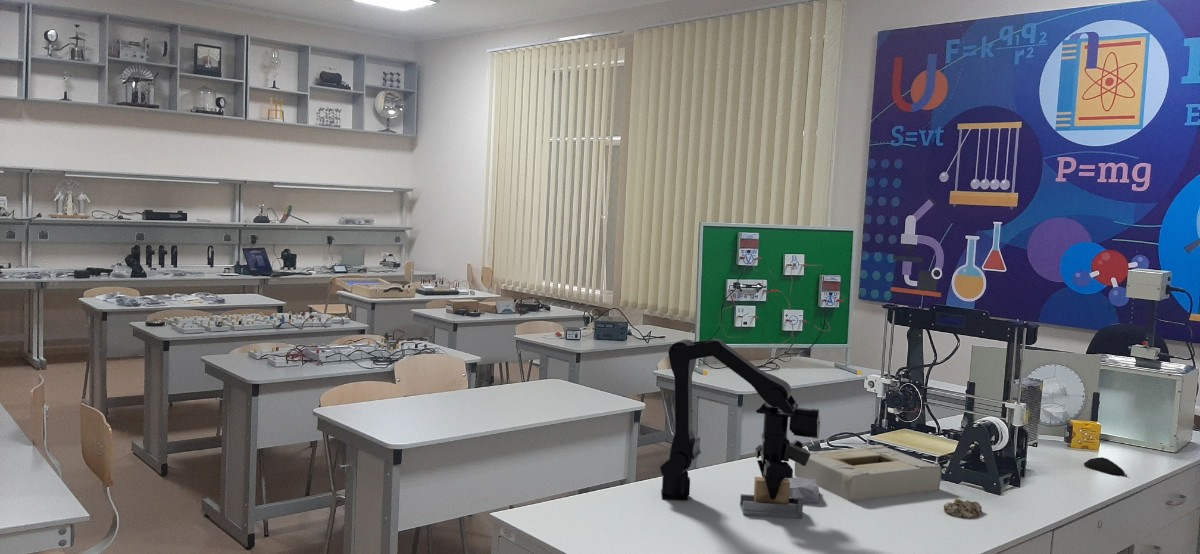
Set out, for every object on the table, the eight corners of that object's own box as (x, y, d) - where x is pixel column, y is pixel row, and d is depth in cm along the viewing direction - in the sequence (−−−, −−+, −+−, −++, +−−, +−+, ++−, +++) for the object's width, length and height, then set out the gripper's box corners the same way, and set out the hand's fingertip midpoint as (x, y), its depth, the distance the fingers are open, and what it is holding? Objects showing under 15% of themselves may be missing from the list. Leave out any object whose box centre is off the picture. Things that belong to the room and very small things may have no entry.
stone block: (782, 508, 222) (822, 504, 221) (779, 489, 222) (819, 485, 221) (778, 495, 234) (816, 491, 232) (776, 477, 234) (814, 473, 232)
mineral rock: (960, 512, 213) (938, 493, 220) (955, 527, 214) (933, 508, 221) (994, 510, 217) (972, 492, 224) (989, 525, 218) (967, 506, 225)
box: (849, 504, 224) (941, 491, 237) (851, 474, 223) (942, 463, 237) (792, 479, 244) (879, 468, 258) (793, 451, 244) (880, 442, 258)
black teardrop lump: (1124, 480, 256) (1126, 467, 255) (1079, 466, 269) (1080, 453, 269) (1139, 479, 258) (1140, 465, 258) (1092, 465, 272) (1094, 452, 272)
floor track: (743, 515, 210) (744, 494, 209) (739, 505, 217) (740, 485, 216) (802, 518, 209) (803, 497, 209) (796, 508, 216) (797, 488, 216)
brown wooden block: (754, 508, 212) (756, 480, 211) (753, 504, 215) (755, 476, 214) (788, 510, 211) (790, 482, 211) (786, 506, 214) (787, 478, 214)
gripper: (816, 444, 202) (812, 510, 203) (801, 425, 221) (797, 485, 222) (768, 442, 202) (764, 507, 203) (756, 422, 221) (753, 483, 222)
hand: (771, 495), depth 213 cm, fingers open, 5 cm apart
